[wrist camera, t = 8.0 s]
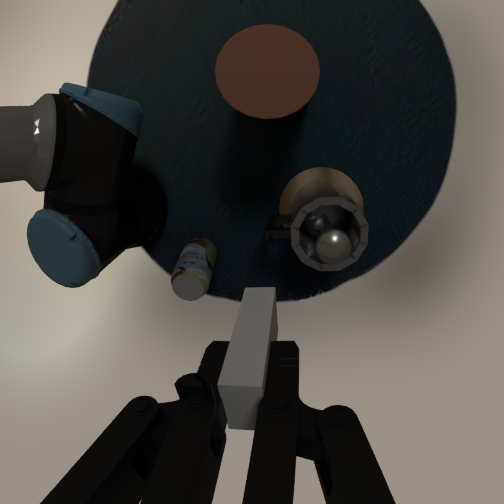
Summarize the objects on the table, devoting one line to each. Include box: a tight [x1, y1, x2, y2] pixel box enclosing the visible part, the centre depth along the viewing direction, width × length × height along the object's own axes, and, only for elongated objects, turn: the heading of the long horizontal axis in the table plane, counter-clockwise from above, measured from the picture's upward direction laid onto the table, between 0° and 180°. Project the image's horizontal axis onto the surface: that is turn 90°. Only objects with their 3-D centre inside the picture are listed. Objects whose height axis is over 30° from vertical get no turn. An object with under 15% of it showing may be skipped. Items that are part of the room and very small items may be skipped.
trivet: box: [279, 167, 363, 228], centre depth 50 cm, size 14×14×1 cm
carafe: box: [265, 180, 368, 271], centre depth 44 cm, size 13×10×12 cm
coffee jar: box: [215, 24, 320, 122], centre depth 35 cm, size 11×11×18 cm
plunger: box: [303, 205, 351, 264], centre depth 40 cm, size 7×7×13 cm
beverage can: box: [171, 237, 217, 301], centre depth 50 cm, size 6×7×12 cm
